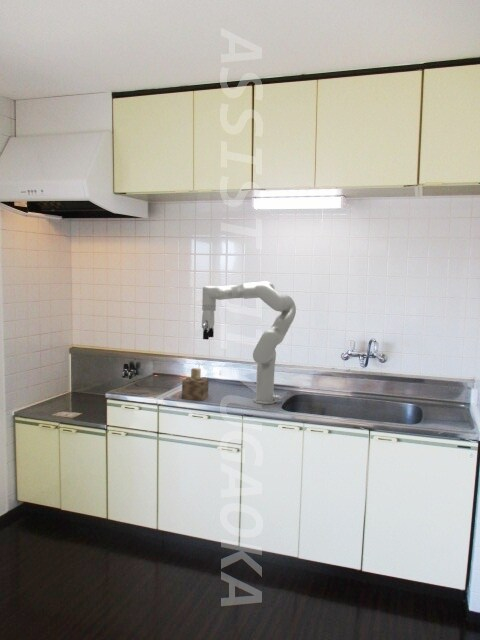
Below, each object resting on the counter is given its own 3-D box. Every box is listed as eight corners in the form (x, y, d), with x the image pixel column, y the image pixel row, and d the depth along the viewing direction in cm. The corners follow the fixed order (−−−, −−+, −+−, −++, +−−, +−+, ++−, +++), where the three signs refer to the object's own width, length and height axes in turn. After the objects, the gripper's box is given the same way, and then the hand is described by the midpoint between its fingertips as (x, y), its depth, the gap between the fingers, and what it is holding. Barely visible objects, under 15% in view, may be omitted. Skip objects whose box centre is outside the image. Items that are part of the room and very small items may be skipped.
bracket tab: (200, 384, 287) (200, 368, 286) (198, 386, 284) (198, 369, 283) (192, 384, 288) (192, 368, 287) (190, 385, 285) (191, 369, 284)
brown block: (208, 396, 290) (208, 378, 289) (202, 400, 280) (203, 382, 279) (187, 394, 293) (188, 377, 292) (181, 398, 283) (182, 380, 282)
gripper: (206, 306, 299) (206, 336, 301) (197, 308, 282) (197, 339, 284) (219, 307, 297) (218, 336, 299) (211, 309, 281) (210, 340, 282)
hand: (208, 338), depth 291 cm, fingers open, 9 cm apart
